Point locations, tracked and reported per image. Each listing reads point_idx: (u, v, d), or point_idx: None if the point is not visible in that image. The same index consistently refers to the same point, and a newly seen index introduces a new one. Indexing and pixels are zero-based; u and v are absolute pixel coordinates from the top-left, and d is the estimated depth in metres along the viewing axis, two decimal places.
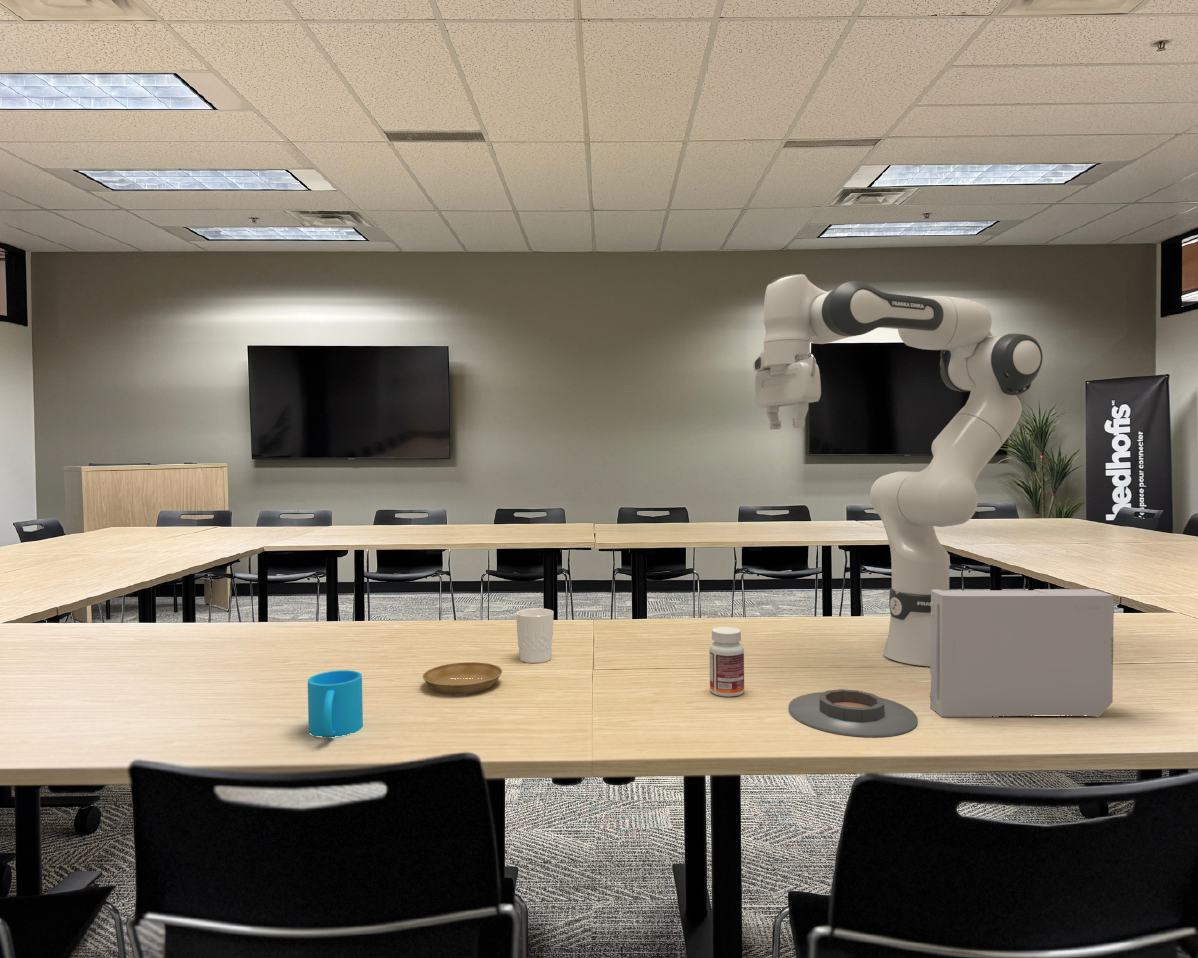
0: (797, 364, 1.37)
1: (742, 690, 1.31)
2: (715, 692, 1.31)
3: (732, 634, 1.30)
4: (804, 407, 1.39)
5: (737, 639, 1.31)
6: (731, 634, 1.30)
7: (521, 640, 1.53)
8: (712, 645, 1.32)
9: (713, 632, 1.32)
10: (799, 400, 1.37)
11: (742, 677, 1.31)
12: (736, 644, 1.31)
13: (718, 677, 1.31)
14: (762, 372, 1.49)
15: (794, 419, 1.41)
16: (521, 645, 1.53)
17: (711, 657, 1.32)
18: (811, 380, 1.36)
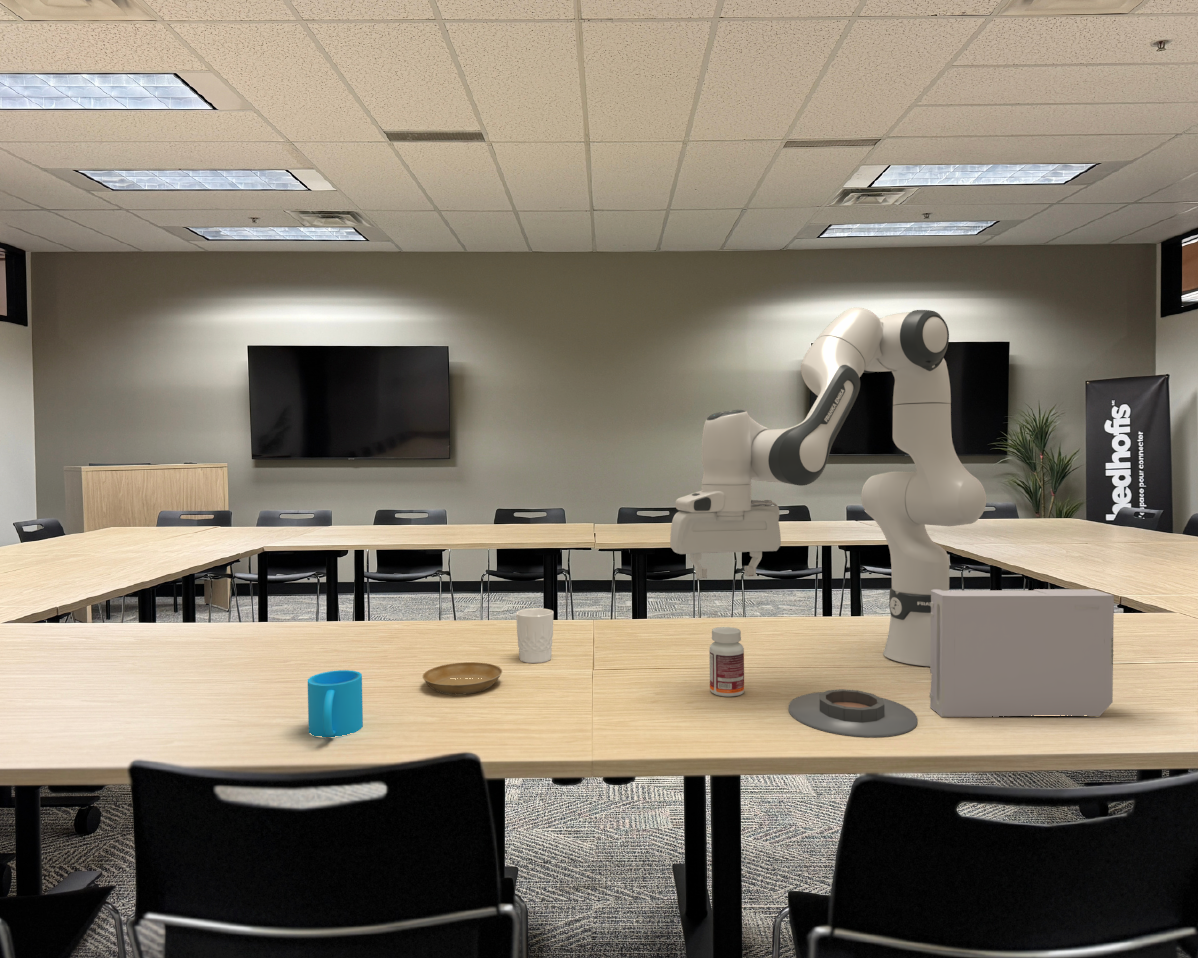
0: (768, 512, 1.32)
1: (742, 690, 1.31)
2: (715, 692, 1.31)
3: (732, 634, 1.30)
4: None
5: (737, 639, 1.31)
6: (731, 634, 1.30)
7: (521, 640, 1.53)
8: (712, 645, 1.32)
9: (713, 632, 1.32)
10: (771, 549, 1.32)
11: (742, 677, 1.31)
12: (736, 644, 1.31)
13: (718, 677, 1.31)
14: (707, 515, 1.28)
15: (752, 568, 1.33)
16: (521, 645, 1.53)
17: (711, 657, 1.32)
18: None
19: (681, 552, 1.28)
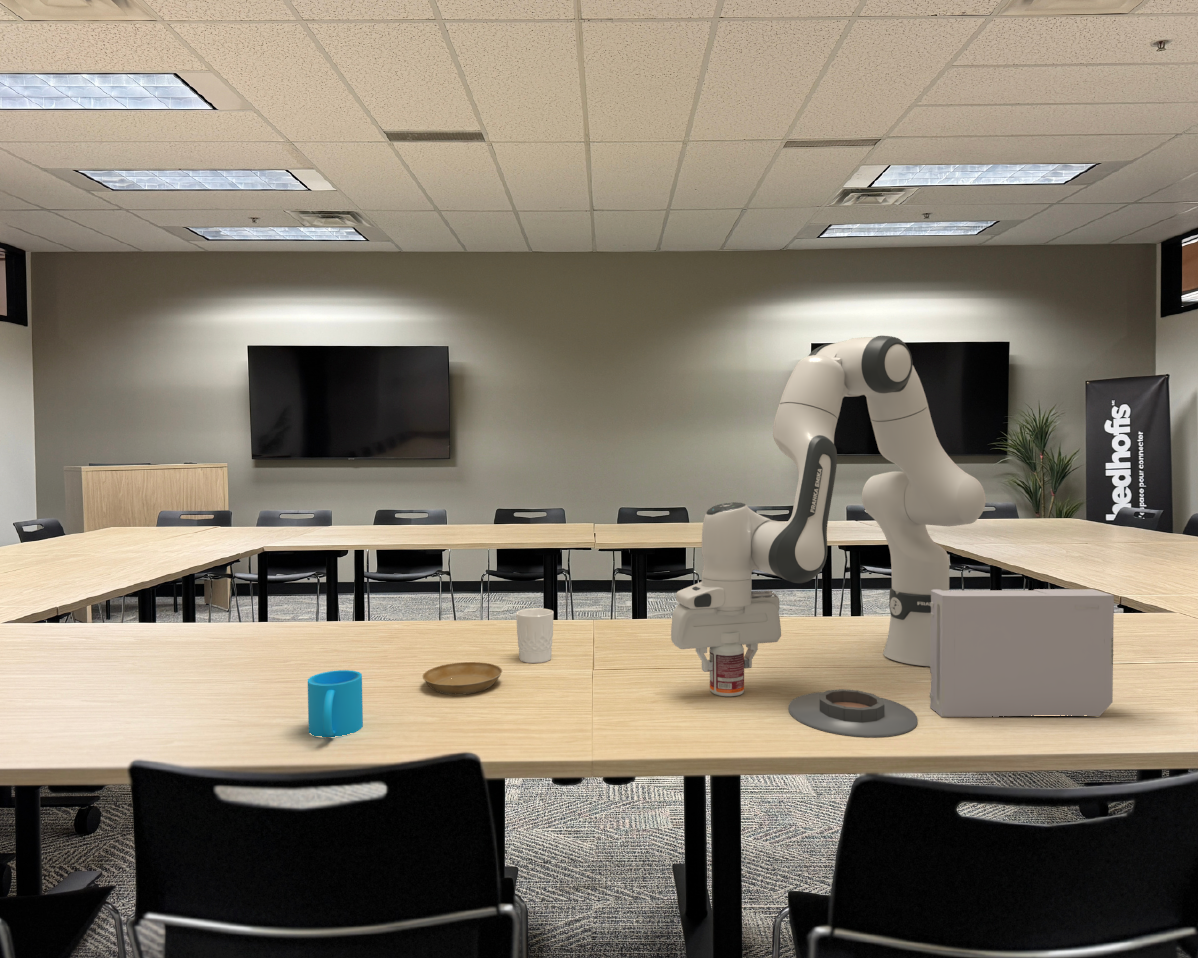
0: (768, 604, 1.33)
1: (742, 690, 1.31)
2: (715, 692, 1.31)
3: (732, 634, 1.30)
4: None
5: (737, 639, 1.31)
6: (731, 634, 1.30)
7: (521, 640, 1.53)
8: None
9: None
10: (771, 641, 1.33)
11: (742, 677, 1.31)
12: (736, 644, 1.31)
13: (718, 677, 1.31)
14: (707, 610, 1.29)
15: (748, 660, 1.33)
16: (521, 645, 1.53)
17: (711, 657, 1.32)
18: None
19: (682, 647, 1.29)
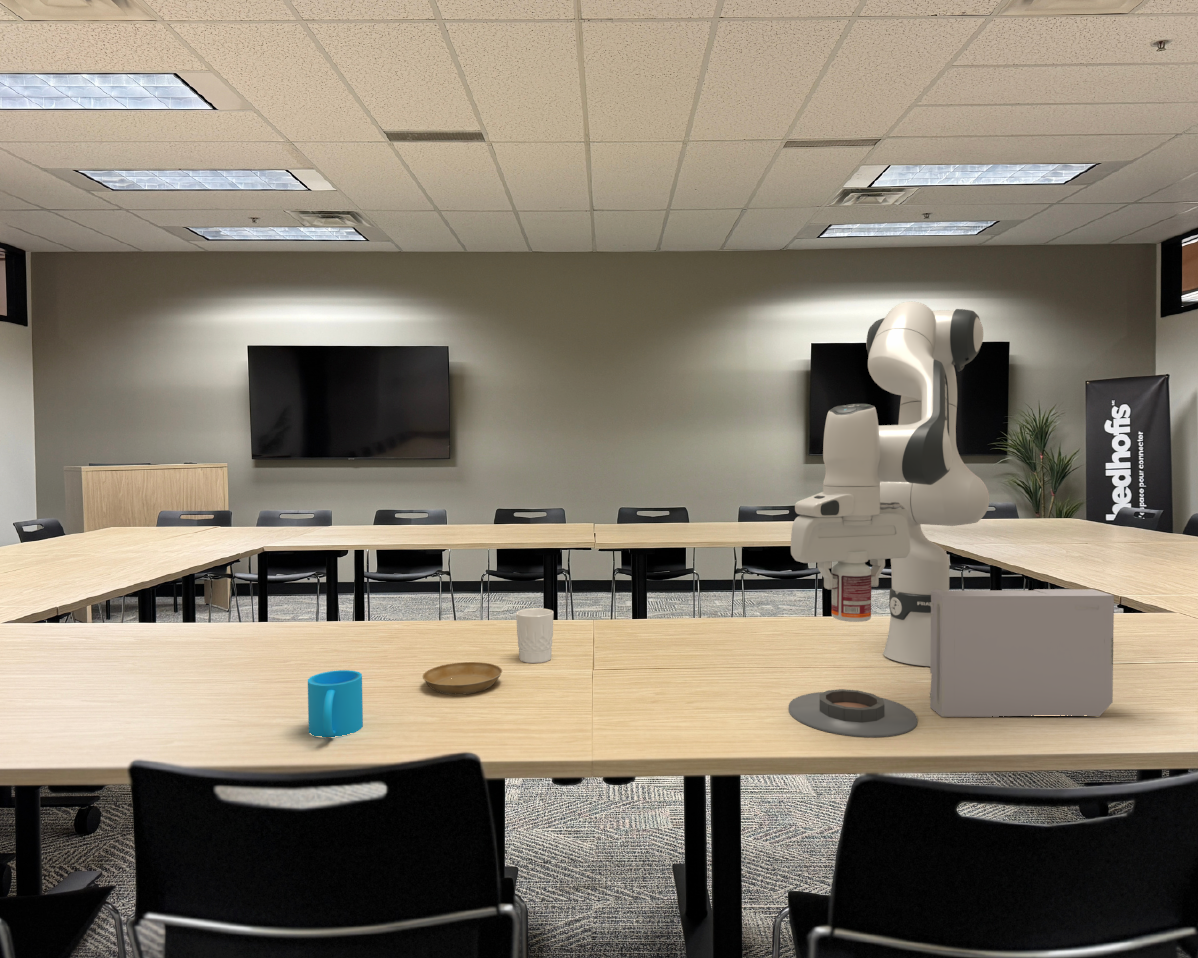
0: (897, 515, 1.20)
1: (870, 615, 1.19)
2: (840, 617, 1.19)
3: (860, 553, 1.18)
4: None
5: (865, 559, 1.18)
6: (859, 553, 1.18)
7: (521, 640, 1.53)
8: (836, 566, 1.20)
9: None
10: (900, 556, 1.21)
11: (870, 601, 1.19)
12: (863, 565, 1.19)
13: (843, 600, 1.18)
14: (834, 519, 1.16)
15: (875, 577, 1.21)
16: (521, 645, 1.53)
17: None
18: None
19: (806, 561, 1.17)
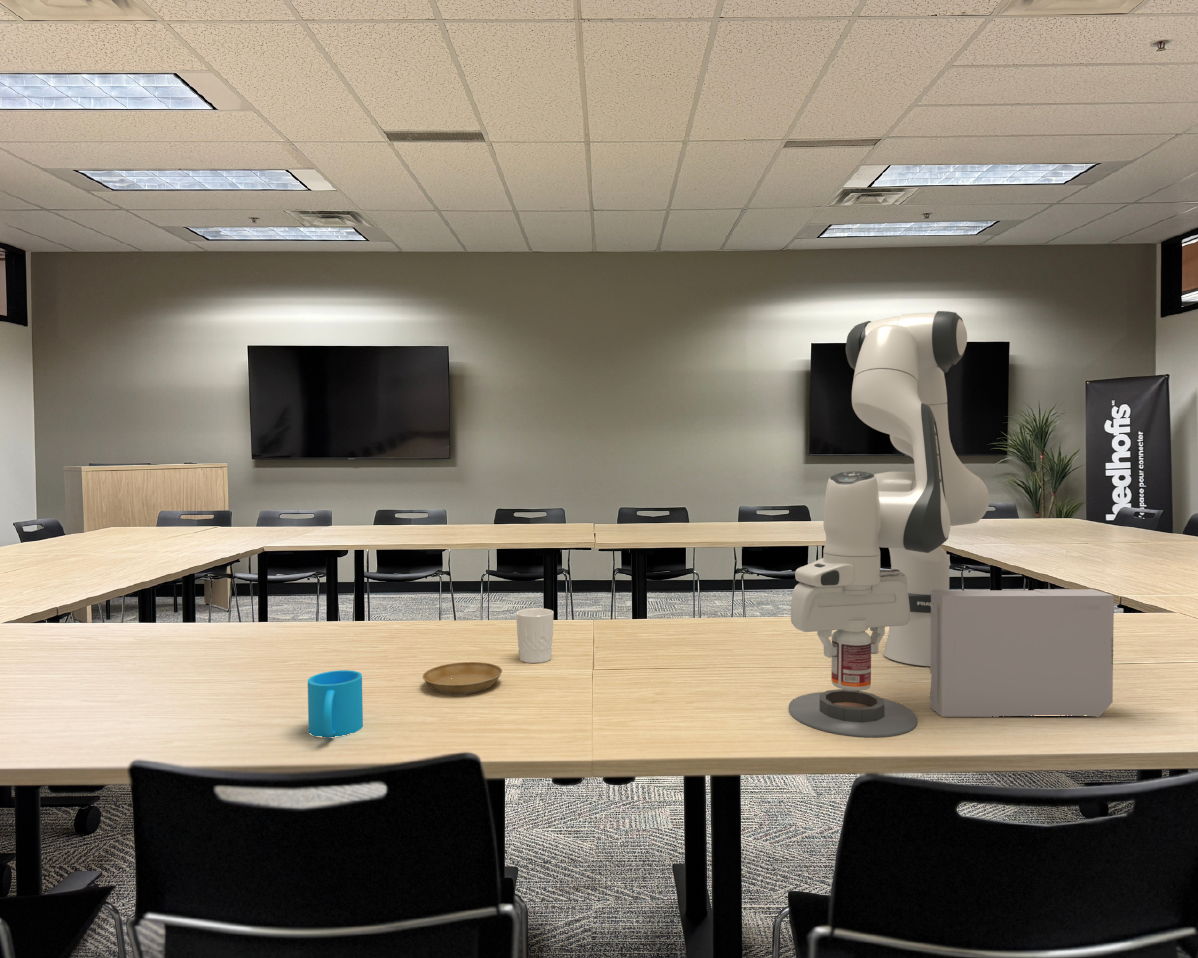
0: (897, 583, 1.21)
1: (869, 684, 1.19)
2: (840, 685, 1.19)
3: (860, 622, 1.18)
4: None
5: (865, 627, 1.19)
6: (859, 622, 1.18)
7: (521, 640, 1.53)
8: (836, 634, 1.20)
9: None
10: (900, 624, 1.21)
11: (870, 669, 1.19)
12: (863, 633, 1.19)
13: (843, 669, 1.18)
14: (834, 589, 1.17)
15: (874, 645, 1.21)
16: (521, 645, 1.53)
17: None
18: None
19: (806, 630, 1.17)
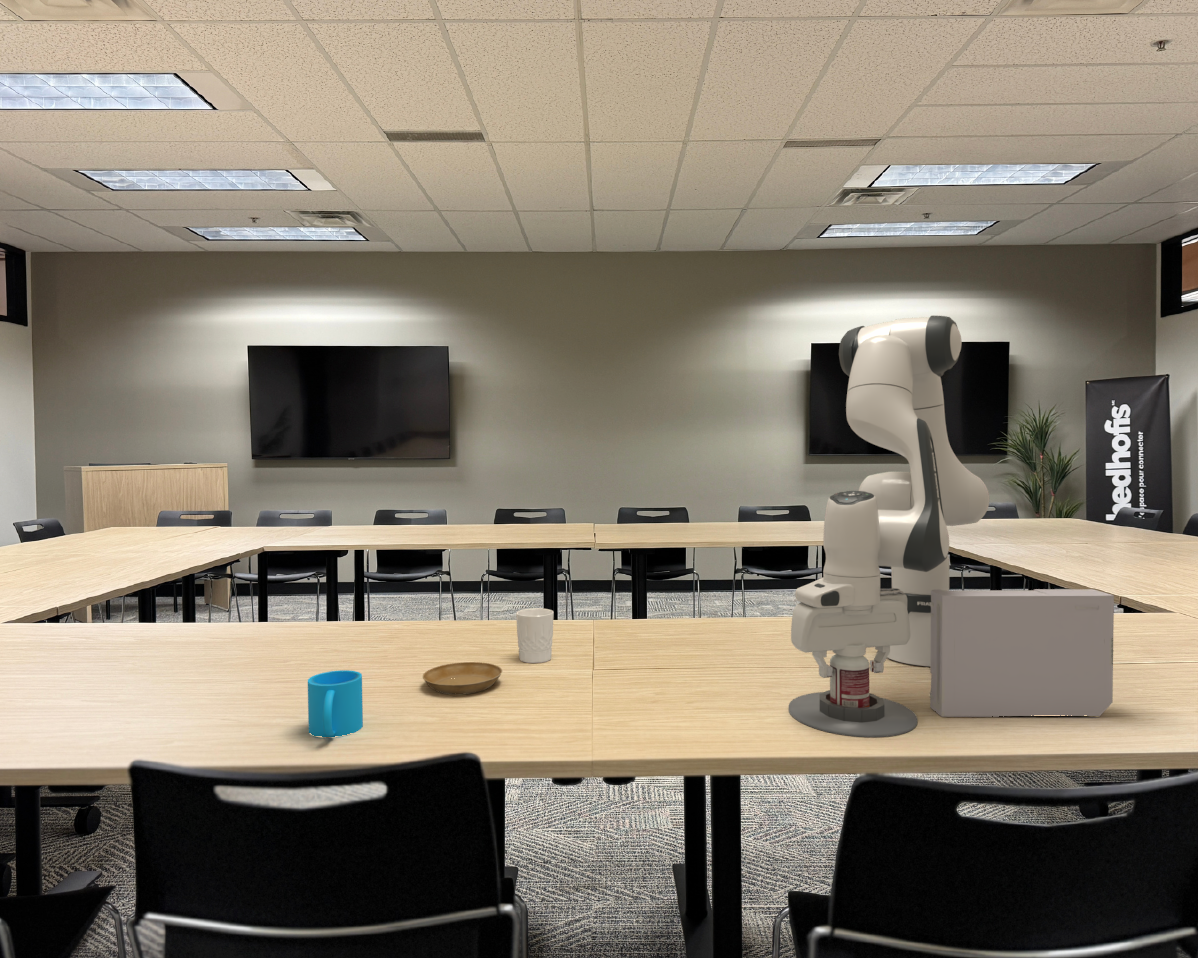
0: (897, 603, 1.21)
1: None
2: None
3: (858, 646, 1.18)
4: None
5: (863, 652, 1.19)
6: (857, 646, 1.18)
7: (521, 640, 1.53)
8: (834, 658, 1.20)
9: None
10: (900, 643, 1.21)
11: (868, 694, 1.19)
12: (861, 657, 1.19)
13: (842, 694, 1.19)
14: (834, 609, 1.17)
15: (880, 664, 1.21)
16: (521, 645, 1.53)
17: (833, 672, 1.20)
18: None
19: (806, 651, 1.17)
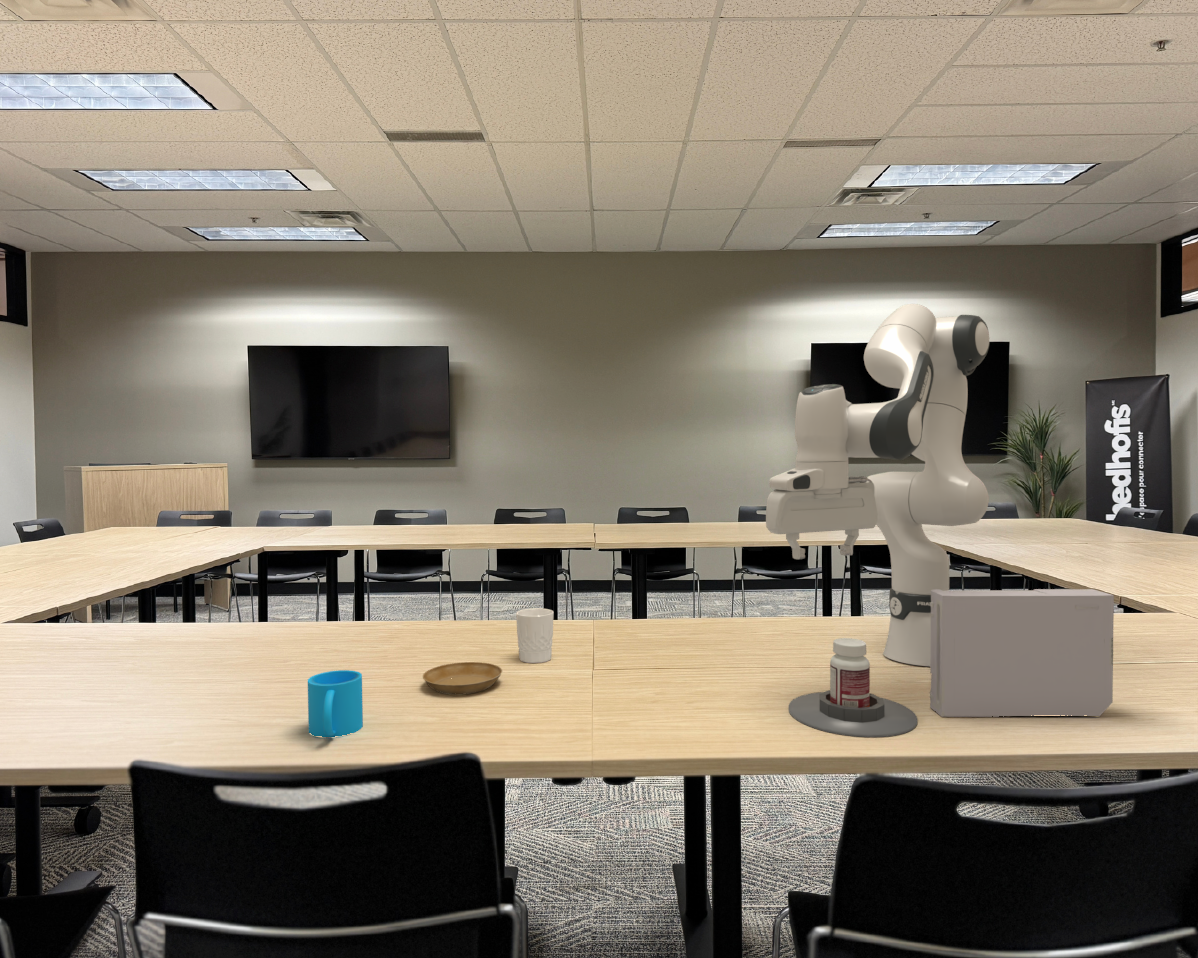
0: (864, 489, 1.28)
1: None
2: None
3: (858, 647, 1.18)
4: None
5: (863, 652, 1.19)
6: (857, 647, 1.18)
7: (521, 640, 1.53)
8: (834, 658, 1.20)
9: (836, 644, 1.20)
10: (868, 527, 1.29)
11: (868, 694, 1.19)
12: (862, 658, 1.19)
13: (842, 694, 1.19)
14: (806, 493, 1.24)
15: (849, 547, 1.29)
16: (521, 645, 1.53)
17: (834, 672, 1.20)
18: None
19: (780, 532, 1.24)
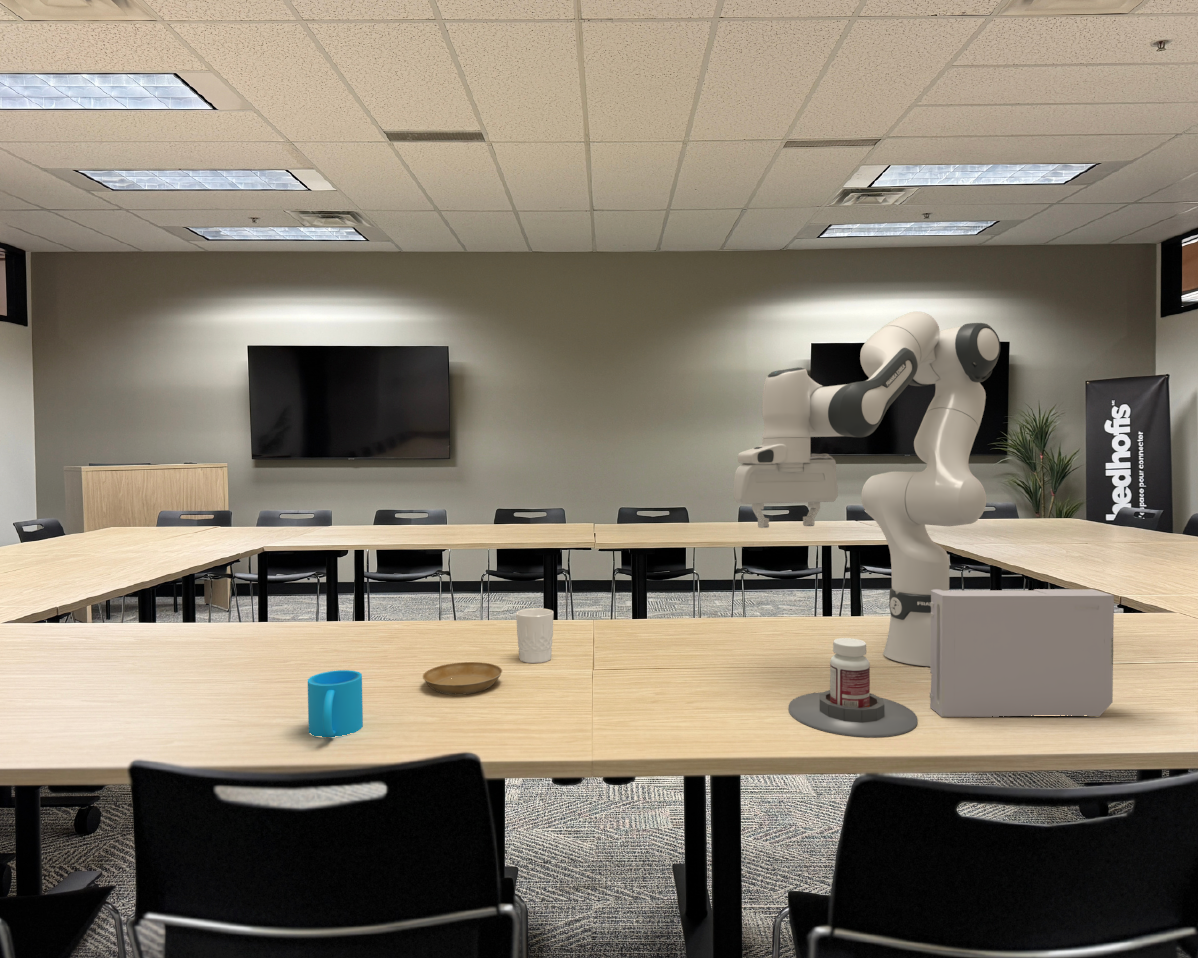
0: (826, 465, 1.39)
1: None
2: None
3: (859, 647, 1.18)
4: None
5: (864, 652, 1.19)
6: (858, 647, 1.18)
7: (521, 640, 1.53)
8: (834, 658, 1.20)
9: (836, 644, 1.20)
10: (829, 500, 1.39)
11: (868, 694, 1.19)
12: (862, 657, 1.19)
13: (842, 694, 1.19)
14: (769, 466, 1.35)
15: (811, 518, 1.40)
16: (521, 645, 1.53)
17: (834, 672, 1.20)
18: None
19: (745, 502, 1.35)
